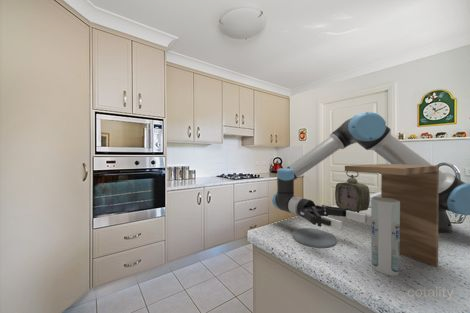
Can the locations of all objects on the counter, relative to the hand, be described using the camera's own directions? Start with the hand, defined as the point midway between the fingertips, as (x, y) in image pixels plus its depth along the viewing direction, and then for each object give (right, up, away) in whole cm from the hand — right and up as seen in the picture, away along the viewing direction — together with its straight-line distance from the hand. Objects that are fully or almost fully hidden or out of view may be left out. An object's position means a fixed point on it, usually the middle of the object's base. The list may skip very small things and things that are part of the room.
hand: (354, 222), depth 63 cm
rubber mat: (-8, -11, +14) cm, 19 cm away
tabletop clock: (+25, -11, +42) cm, 50 cm away
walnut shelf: (+8, -11, -5) cm, 14 cm away
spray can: (+4, -11, -7) cm, 14 cm away
